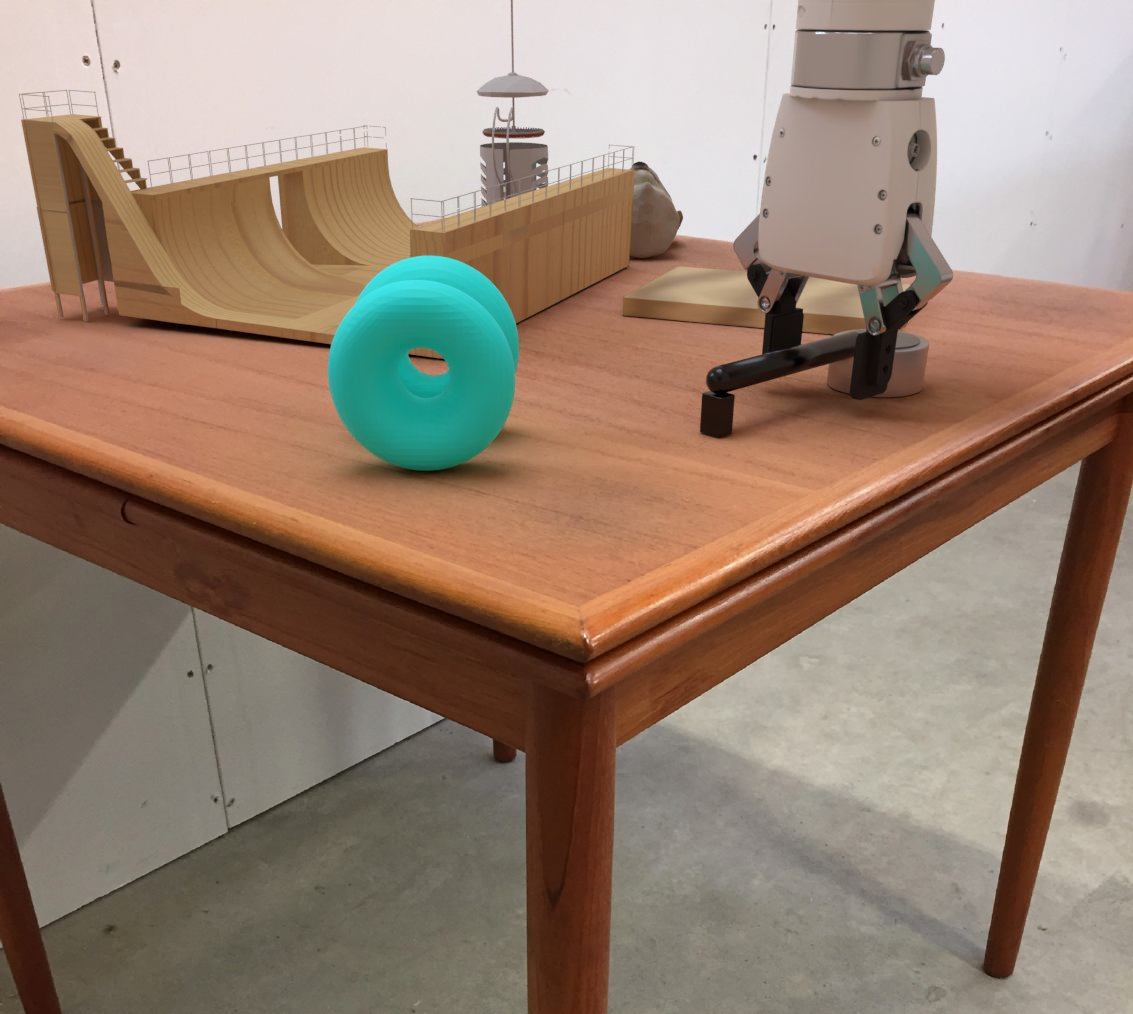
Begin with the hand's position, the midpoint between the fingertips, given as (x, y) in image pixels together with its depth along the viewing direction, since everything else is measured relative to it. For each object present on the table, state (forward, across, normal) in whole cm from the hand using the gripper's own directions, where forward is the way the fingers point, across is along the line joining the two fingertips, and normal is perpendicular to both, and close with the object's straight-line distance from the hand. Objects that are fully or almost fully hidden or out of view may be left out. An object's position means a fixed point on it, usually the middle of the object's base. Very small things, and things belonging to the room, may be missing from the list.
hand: (822, 381), depth 79 cm
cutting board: (+1, +20, -20) cm, 28 cm away
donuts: (+1, +9, +25) cm, 27 cm away
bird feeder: (+1, +70, -34) cm, 78 cm away
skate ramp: (+1, +49, +1) cm, 49 cm away
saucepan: (+1, 0, +1) cm, 2 cm away
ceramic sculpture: (+1, +48, -32) cm, 58 cm away
